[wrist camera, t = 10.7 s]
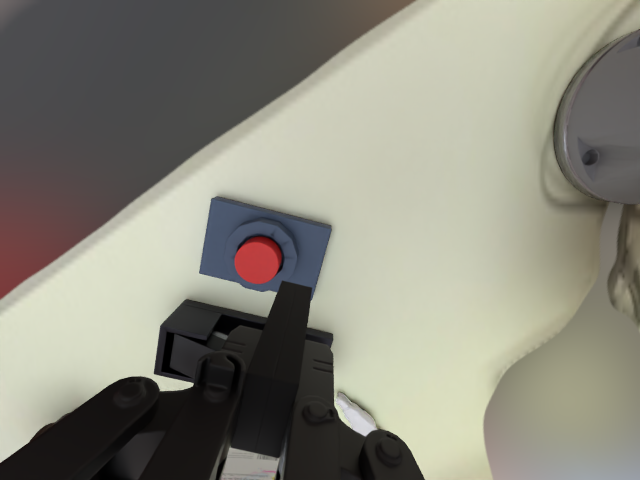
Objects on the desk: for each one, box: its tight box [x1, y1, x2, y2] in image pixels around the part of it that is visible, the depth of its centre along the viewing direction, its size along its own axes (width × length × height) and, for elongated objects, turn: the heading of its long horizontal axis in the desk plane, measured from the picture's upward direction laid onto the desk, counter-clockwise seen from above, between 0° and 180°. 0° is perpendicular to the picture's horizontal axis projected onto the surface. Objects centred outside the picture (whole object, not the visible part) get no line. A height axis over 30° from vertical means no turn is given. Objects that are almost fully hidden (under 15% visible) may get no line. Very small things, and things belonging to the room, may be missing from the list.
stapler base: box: [154, 299, 333, 383], centre depth 33 cm, size 17×6×6 cm, turn 75°
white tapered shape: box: [336, 392, 378, 436], centre depth 38 cm, size 15×3×2 cm, turn 39°
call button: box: [235, 236, 282, 284], centre depth 29 cm, size 4×4×2 cm
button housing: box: [199, 196, 331, 300], centre depth 31 cm, size 12×8×4 cm, turn 75°
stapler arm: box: [170, 330, 228, 379], centre depth 30 cm, size 16×4×3 cm, turn 76°
